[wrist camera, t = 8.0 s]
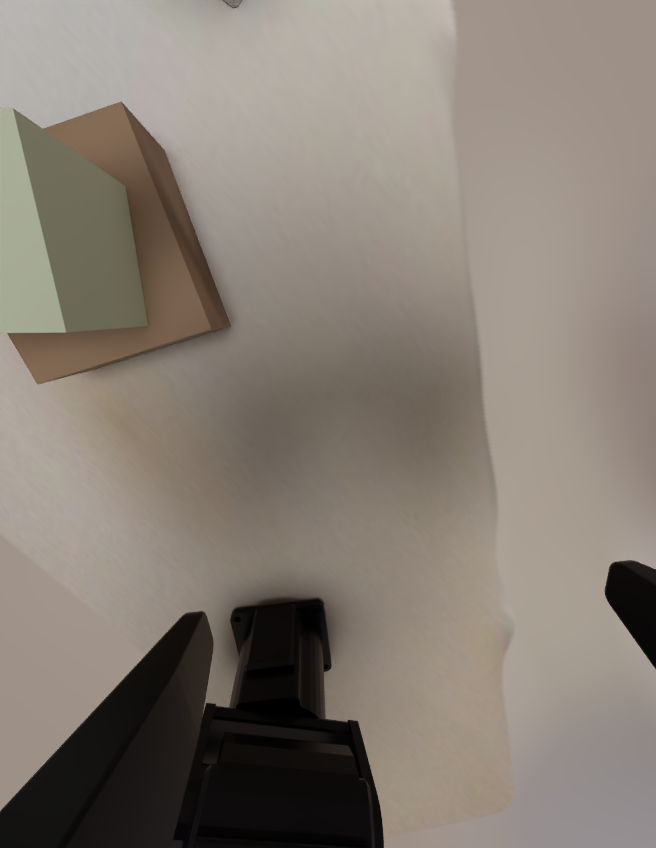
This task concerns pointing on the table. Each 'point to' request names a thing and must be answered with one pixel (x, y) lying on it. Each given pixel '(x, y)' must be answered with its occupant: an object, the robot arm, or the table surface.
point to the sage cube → (62, 238)
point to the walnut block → (155, 246)
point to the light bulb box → (233, 2)
